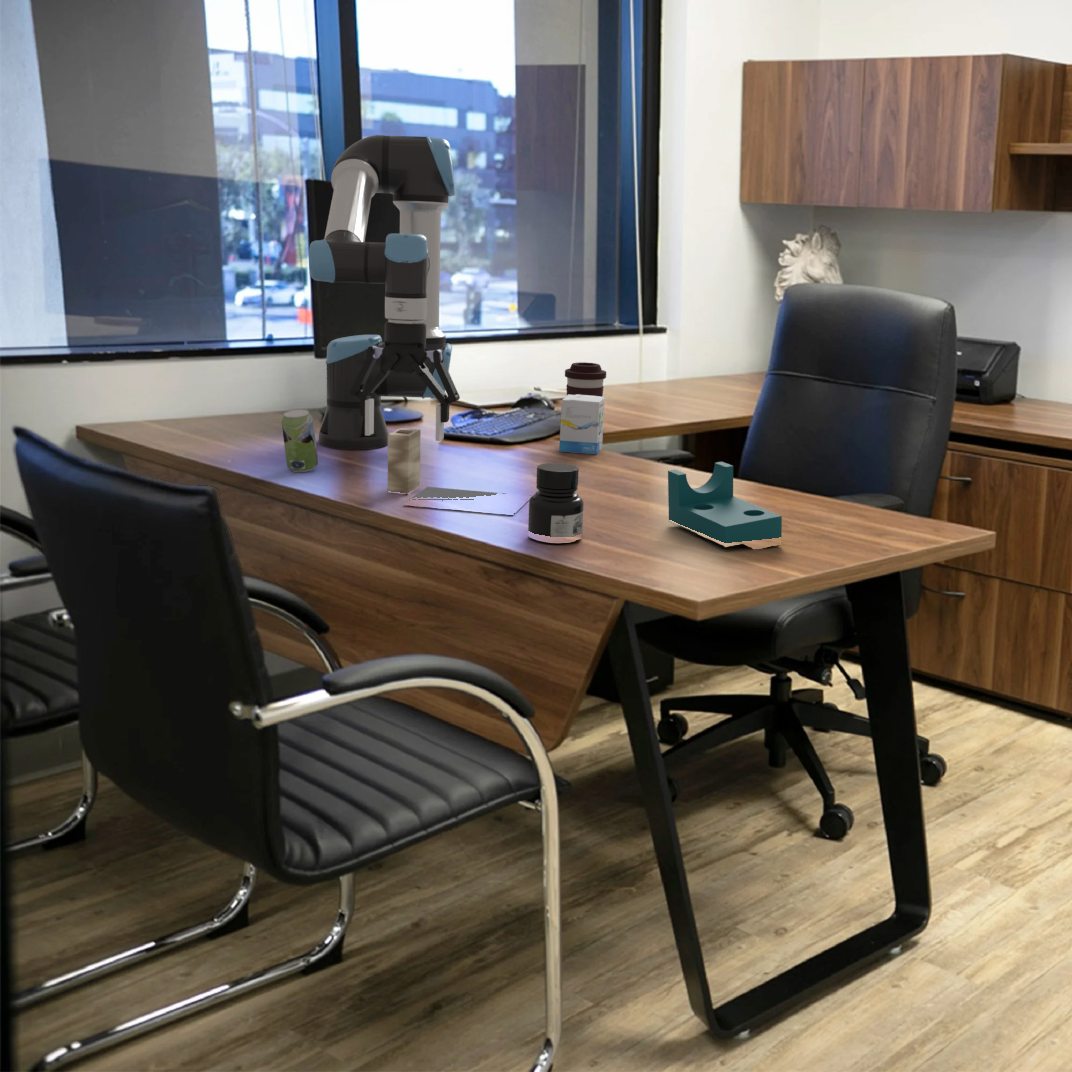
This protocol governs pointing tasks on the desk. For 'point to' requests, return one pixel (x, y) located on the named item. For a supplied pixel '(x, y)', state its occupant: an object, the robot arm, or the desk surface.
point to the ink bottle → (556, 502)
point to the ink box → (581, 424)
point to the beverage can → (299, 440)
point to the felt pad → (449, 493)
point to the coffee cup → (585, 379)
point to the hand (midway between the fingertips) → (404, 437)
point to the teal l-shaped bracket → (719, 509)
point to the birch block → (404, 460)
